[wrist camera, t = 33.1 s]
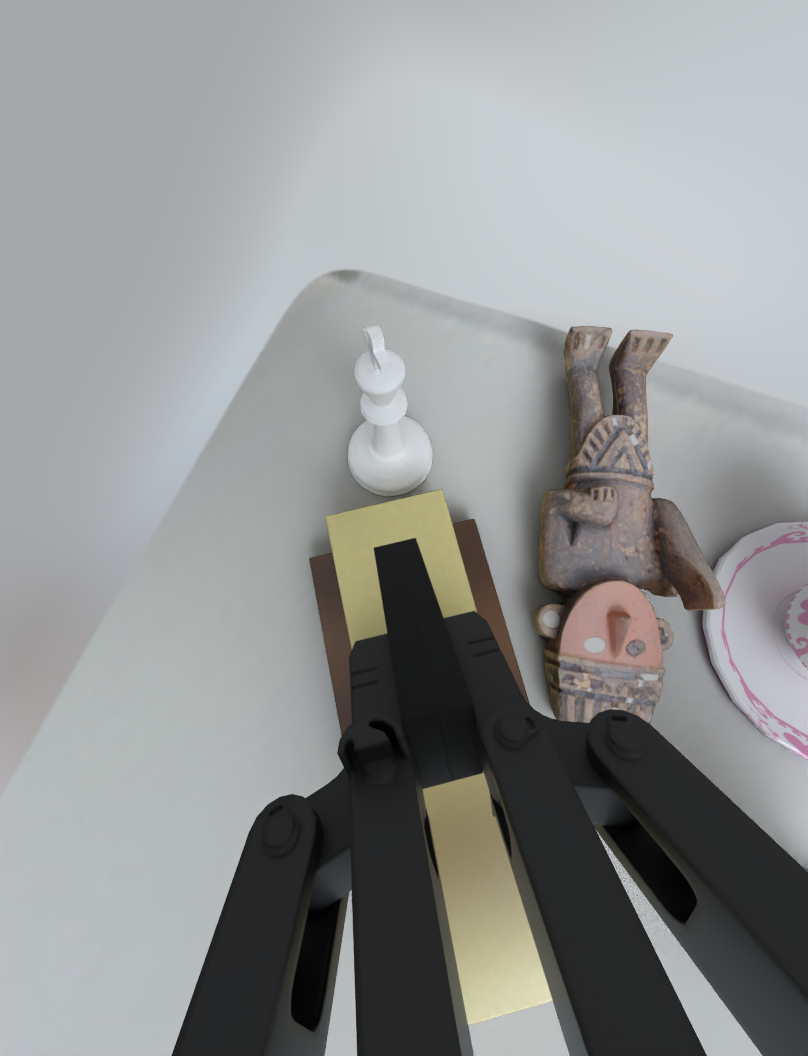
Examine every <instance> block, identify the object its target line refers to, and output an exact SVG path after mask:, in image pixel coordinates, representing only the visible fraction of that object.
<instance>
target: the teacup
mask: <svg viewBox="0 0 808 1056" xmlns="http://www.w3.org/2000/svg"><path fill="white" fill-rule="evenodd" d="M713 573H714V575H715V577H716V579H717V580H718V582H719V584H720V587H721V589H722V592H723V595H724V598H725V603H724V606H723V607H722V608H720V609H716V610H703V623H702V626H703V630H704V634H705V638H706V643H707V647H708V651H709V655H710V659H711V664H712V666H713V667H714V669H715V671H716V673H717V674H718V676H719V678H720V680H721V682H722V683H723V685H724V687H725V689H726V691H727V692H728V694H729V696H730V698H731V700H732V701H733V703H734V704H735V705H736V706H737V707H738V708H739V709H740V710H741V711H742V712H743V713H744V714H745V715H746V716H747V717H748V718H749V719H750V720H751V721H752V722H753V723H754V724H755V726H756V727H757V728H758V729H759V730H760V731H761V732H762V733H763V734H764V735H766V736H767V737H769V738H771V739H772V740H774V741H776V742H777V743H779V744H781V745H782V746H784V747H785V748H787V749H789V750H790V751H792V752H794V753H795V754H797V755H799V756H800V757H802V758H804V759H807V760H808V521H805V522H788V523H776V524H772V525H770V526H768V527H765V528H763V529H760V530H758V531H755V532H753V533H751V534H748V535H746V536H743V537H742V538H741V539H739V540H738V541H737V542H736V543H735V544H734V545H733V546H732V547H731V548H730V549H729V550H728V551H727V552H726V553H725V554H724V555H723V556H722V557H721V558H720V559H719V560H718V562H717V564H716V567H715V569H714V571H713Z"/></svg>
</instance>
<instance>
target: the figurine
mask: <svg viewBox="0 0 808 1056" xmlns="http://www.w3.org/2000/svg"><path fill="white" fill-rule="evenodd" d="M611 333H612V329H611V328H606V327H594V326H580V327H571V328H570V330H569V332H568V335H567V338H566V342H565V349H564V359H565V372H566V378H567V385H568V391H569V405H570V414H571V435H570V461H569V463H568V464H567V467H566V475H565V478H566V482H565V489H551V490H548V491H546V492H545V493H544V495H543V500H542V507H541V519H540V543H539V576H540V580H541V583H542V584H543V585H544V586H545V587H546V588H548V589H550V590H552V591H554V592H556V593H558V594H560V595H561V594H562V595H564V598H563V601H562V603H561V604H557V603H555V604H548V605H543V606H540V607H539V608H538V609H536V611H535V612H534V615H533V621H532V623H533V627H534V630H535V631H536V632H537V633H538V634H539V635H540V636H544V637H545V638H546V639H547V640H548V646H547V647H546V648H545V650H544V654H545V657H546V660H545V671H546V677H547V680H548V682H549V689H550V697H551V705H552V710H553V713H554V716H555V718H556V720H561V721H571V722H585V723H590V720H591V719H592V718H593V717H594V716H595V715H596V714H597V713H599V712H602V711H606V710H609V709H613V710H624V711H627V712H630V713H632V714H635V715H638V716H639V717H640V718H642V719H643V720H645V721H646V722H647V723H650V719H651V717H652V714H653V709H654V706H655V702H656V701H657V700H659V698H660V694H661V690H662V686H663V683H662V676H663V675H664V674H665V669H664V667H663V664H662V651H664V650H667V649H668V648H669V647H670V646H671V645H672V643H673V632H672V630H671V627H670V625H669V623H668V622H666V621H665V620H664V619H660V618H656V614H655V611H654V609H653V606H652V604H651V603H650V602H649V601H648V599H647V598H646V596H645V595H644V593H643V592H642V591H641V590H639V589H645V590H648V591H650V592H651V593H652V594H654V595H657V596H663V597H677V594H679V595H680V597H681V600H682V602H683V605H684V608H685V609H686V610H716V609H720V608H722V607H723V606H724V603H725V598H724V595H723V592H722V589H721V587H720V584H719V582H718V580H717V579H716V577H715V575H714V573H713V571H712V570H711V568H710V566H709V565H708V563H707V561H706V559H705V558H704V556H703V554H702V552H701V550H700V548H699V547H698V545H697V542H696V540H695V538H694V536H693V534H692V532H691V530H690V528H689V526H688V524H687V522H686V521H685V519H684V517H683V515H682V514H681V512H680V511H679V509H678V508H677V506H676V505H675V504H674V503H673V502H672V501H669V500H666V499H661V498H653V499H652V498H651V492H652V491H653V489H654V484H653V481H652V478H653V469H652V463H651V459H650V456H649V451H648V414H647V403H646V375H647V373H648V372H649V370H650V369H651V367H652V366H653V364H654V363H655V362H656V360H657V359H658V358H659V356H660V355H661V353H662V352H663V351H664V349H665V348H666V346H667V344H668V343H669V341H670V340H671V338H672V337H673V335H672V334H668V333H662V332H655V331H647V330H630V331H629V332H628V333H627V335H626V336H625V338H624V339H623V341H622V342H621V344H620V345H619V347H618V348H617V350H616V351H615V353H614V355H613V357H612V359H611V361H610V364H609V372H610V377H611V382H612V390H613V410H612V415H610V416H606V417H605V414H604V410H603V405H602V400H601V395H600V391H599V380H598V366H599V363H600V360H601V358H602V355H603V353H604V351H605V349H606V346H607V344H608V342H609V339H610V336H611Z"/></svg>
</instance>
